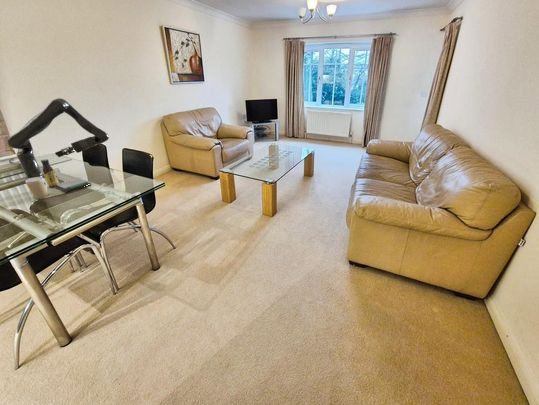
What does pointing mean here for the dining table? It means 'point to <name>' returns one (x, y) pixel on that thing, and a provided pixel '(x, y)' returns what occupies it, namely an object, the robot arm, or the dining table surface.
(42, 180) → the coffee cup
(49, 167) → the sauce bottle
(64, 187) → the kitchen scale
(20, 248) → the dining table surface
